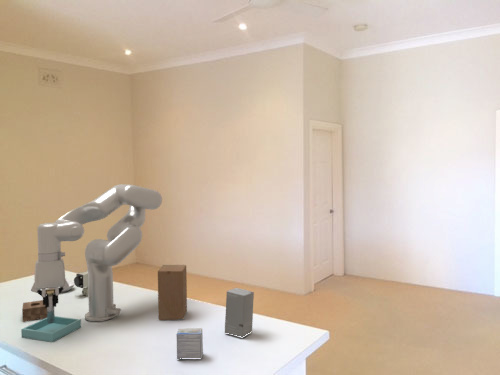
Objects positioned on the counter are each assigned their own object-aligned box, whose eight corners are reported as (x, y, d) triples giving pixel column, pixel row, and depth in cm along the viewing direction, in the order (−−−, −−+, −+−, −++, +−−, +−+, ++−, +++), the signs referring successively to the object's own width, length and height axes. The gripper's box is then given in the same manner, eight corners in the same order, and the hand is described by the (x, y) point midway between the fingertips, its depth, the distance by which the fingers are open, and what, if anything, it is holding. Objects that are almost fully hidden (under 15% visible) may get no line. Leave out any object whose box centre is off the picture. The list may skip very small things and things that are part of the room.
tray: (80, 327, 156) (80, 319, 156) (52, 342, 143) (52, 333, 143) (51, 323, 160) (51, 315, 160) (21, 337, 147) (21, 329, 147)
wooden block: (183, 320, 162) (182, 270, 161) (158, 320, 162) (157, 270, 161) (187, 311, 172) (186, 264, 171) (163, 311, 172) (162, 264, 171)
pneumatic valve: (101, 292, 199) (101, 268, 198) (79, 299, 190) (78, 273, 189) (95, 290, 202) (94, 266, 202) (73, 296, 193) (72, 271, 192)
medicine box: (203, 353, 133) (202, 327, 133) (201, 360, 129) (201, 333, 128) (178, 354, 133) (178, 328, 132) (176, 360, 128) (176, 333, 128)
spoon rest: (79, 290, 204) (79, 276, 204) (56, 296, 195) (56, 281, 194) (54, 282, 218) (54, 269, 218) (32, 288, 209) (31, 274, 208)
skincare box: (224, 334, 148) (223, 291, 147) (235, 328, 154) (235, 286, 153) (243, 339, 144) (243, 295, 143) (254, 332, 149) (254, 290, 149)
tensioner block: (47, 311, 174) (47, 299, 174) (48, 317, 166) (47, 305, 166) (23, 314, 170) (23, 302, 170) (22, 321, 162) (22, 309, 162)
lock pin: (58, 321, 152) (57, 288, 152) (51, 324, 149) (50, 291, 148) (50, 320, 153) (50, 288, 153) (43, 323, 150) (42, 290, 149)
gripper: (72, 252, 157) (73, 300, 158) (25, 257, 150) (26, 306, 151) (74, 256, 150) (75, 305, 151) (24, 261, 143) (25, 312, 144)
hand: (50, 305), depth 151 cm, fingers closed on lock pin, 2 cm apart
